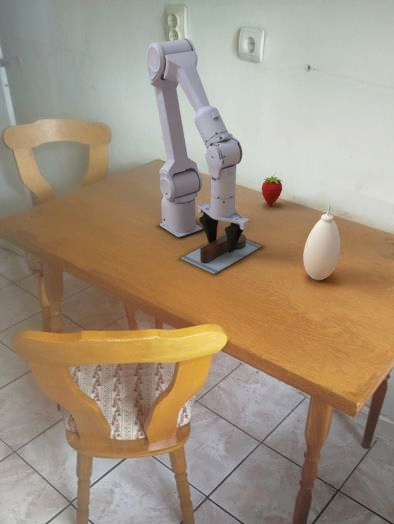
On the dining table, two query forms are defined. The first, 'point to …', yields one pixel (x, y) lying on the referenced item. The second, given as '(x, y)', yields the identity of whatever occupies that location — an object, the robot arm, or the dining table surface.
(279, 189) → the strawberry
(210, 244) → the spoon
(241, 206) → the dining table surface
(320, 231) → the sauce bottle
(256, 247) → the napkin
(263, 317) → the dining table surface
